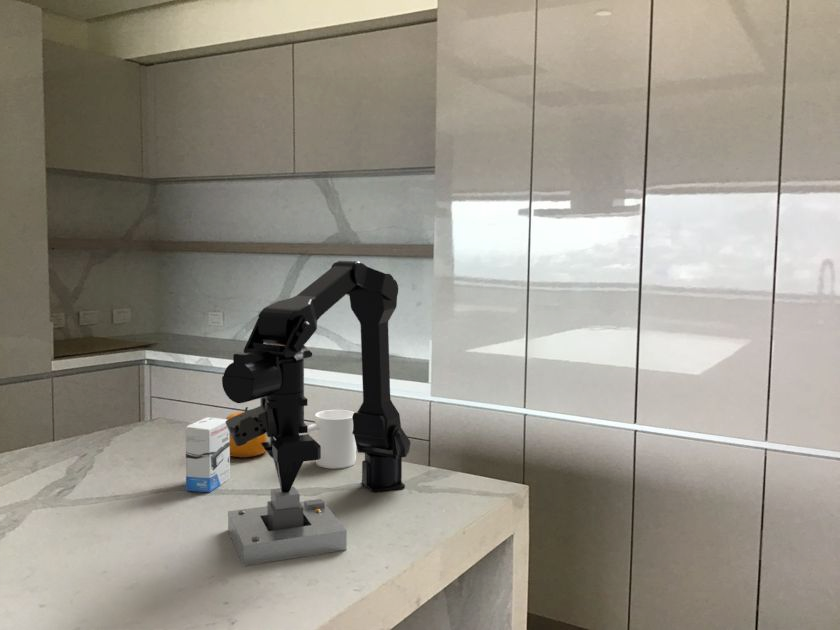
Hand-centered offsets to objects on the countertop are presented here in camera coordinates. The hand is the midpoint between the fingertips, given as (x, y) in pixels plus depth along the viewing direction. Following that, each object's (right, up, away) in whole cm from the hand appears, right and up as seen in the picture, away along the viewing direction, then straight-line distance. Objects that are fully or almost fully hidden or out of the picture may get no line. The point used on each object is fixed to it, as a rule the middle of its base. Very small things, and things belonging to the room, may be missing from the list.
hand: (285, 491), depth 113 cm
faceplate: (0, -7, +1) cm, 8 cm away
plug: (0, -7, +1) cm, 7 cm away
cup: (+2, -4, +38) cm, 38 cm away
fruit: (-17, -3, +46) cm, 49 cm away
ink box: (-19, -5, +25) cm, 32 cm away
